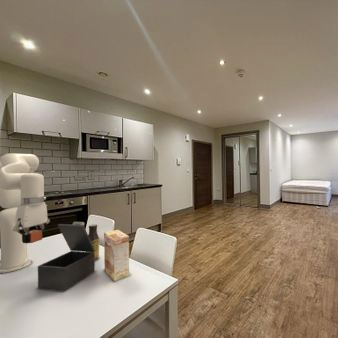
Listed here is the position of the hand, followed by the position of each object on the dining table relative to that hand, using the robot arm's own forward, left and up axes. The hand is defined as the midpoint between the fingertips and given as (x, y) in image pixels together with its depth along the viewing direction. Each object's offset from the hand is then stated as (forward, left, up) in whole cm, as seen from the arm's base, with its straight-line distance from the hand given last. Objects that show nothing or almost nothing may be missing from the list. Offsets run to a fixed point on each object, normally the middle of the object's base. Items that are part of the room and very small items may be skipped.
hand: (32, 240), depth 87 cm
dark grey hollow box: (+13, +5, -20) cm, 24 cm away
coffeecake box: (+32, +13, -20) cm, 40 cm away
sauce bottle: (+8, +24, -20) cm, 32 cm away
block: (0, 0, 0) cm, 0 cm away
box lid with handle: (+13, +9, -2) cm, 16 cm away
